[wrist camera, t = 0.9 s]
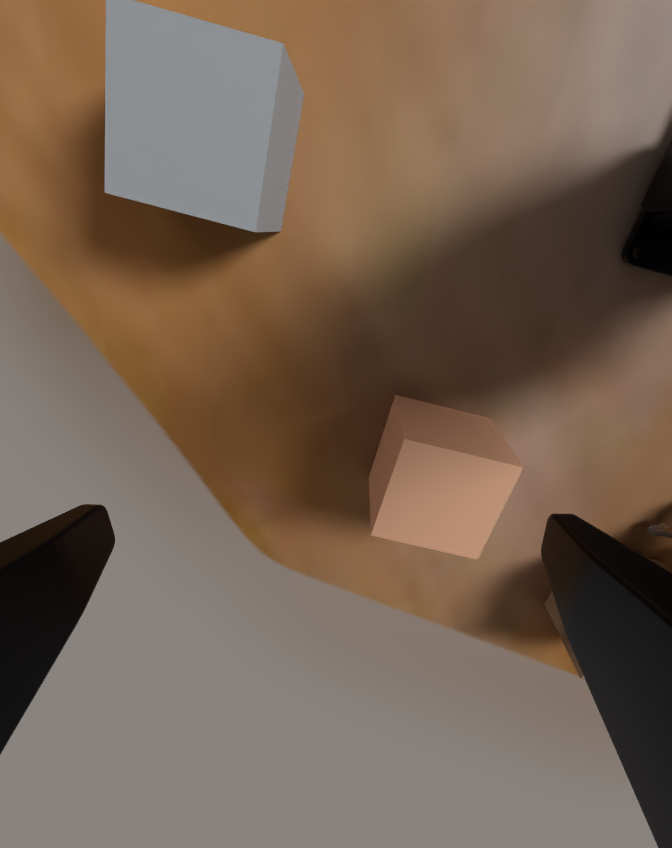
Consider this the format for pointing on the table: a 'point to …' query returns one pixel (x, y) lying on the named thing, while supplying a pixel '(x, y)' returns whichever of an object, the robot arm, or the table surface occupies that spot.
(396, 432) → the terracotta block
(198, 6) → the table surface
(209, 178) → the slate grey block
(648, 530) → the lion figurine
